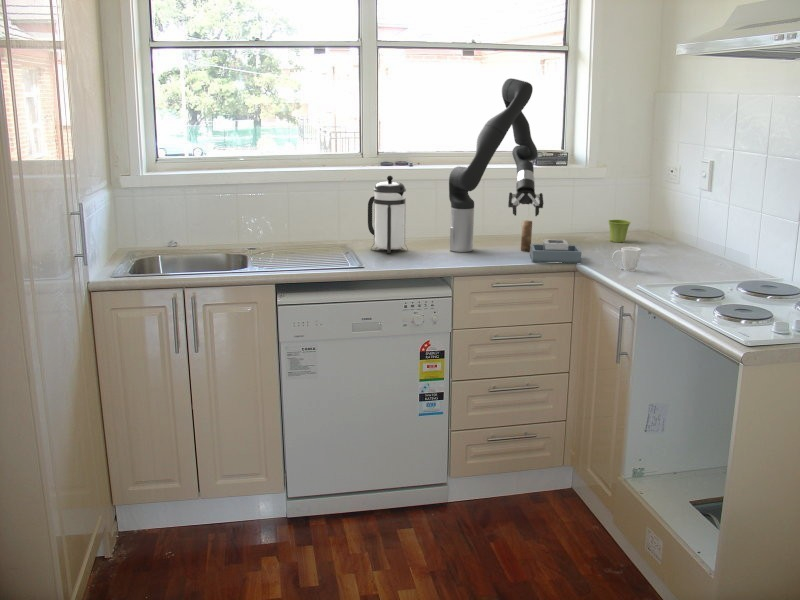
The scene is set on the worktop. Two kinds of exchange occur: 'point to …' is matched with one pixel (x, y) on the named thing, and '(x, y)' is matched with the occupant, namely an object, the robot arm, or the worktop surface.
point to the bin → (555, 254)
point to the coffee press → (388, 215)
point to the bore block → (555, 245)
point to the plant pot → (618, 230)
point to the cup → (629, 257)
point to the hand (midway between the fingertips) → (525, 214)
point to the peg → (526, 235)
